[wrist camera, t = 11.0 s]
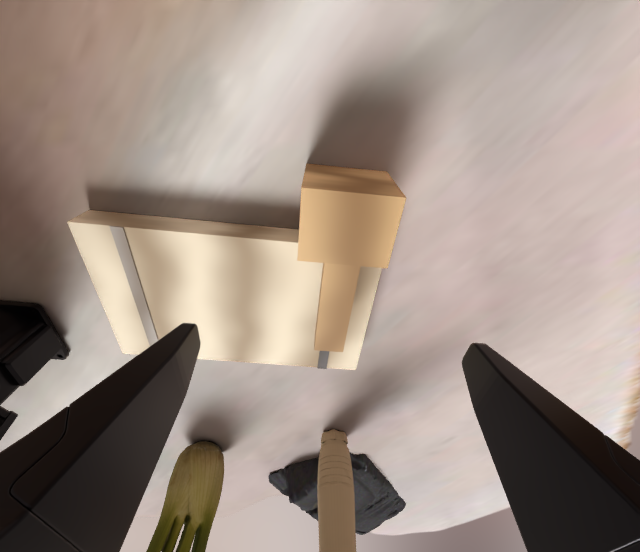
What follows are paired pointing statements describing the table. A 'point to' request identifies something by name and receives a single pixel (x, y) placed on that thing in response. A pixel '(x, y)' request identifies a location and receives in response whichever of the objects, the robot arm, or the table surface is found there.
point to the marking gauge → (345, 237)
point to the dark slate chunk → (369, 491)
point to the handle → (335, 495)
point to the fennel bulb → (190, 499)
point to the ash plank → (214, 288)
